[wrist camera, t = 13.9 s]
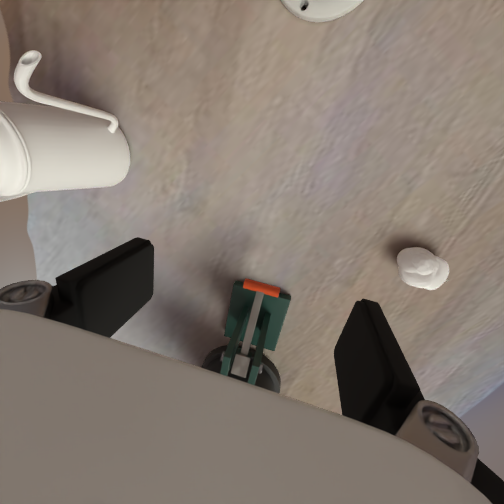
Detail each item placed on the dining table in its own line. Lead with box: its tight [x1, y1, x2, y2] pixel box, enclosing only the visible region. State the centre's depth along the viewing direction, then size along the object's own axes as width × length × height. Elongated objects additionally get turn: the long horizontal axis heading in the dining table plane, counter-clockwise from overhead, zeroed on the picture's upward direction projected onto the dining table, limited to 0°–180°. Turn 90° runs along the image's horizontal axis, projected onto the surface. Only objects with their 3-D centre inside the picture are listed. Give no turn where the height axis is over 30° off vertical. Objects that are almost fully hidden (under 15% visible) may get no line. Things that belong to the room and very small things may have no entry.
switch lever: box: [231, 278, 280, 378], centre depth 34 cm, size 13×5×2 cm, turn 168°
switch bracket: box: [220, 281, 291, 385], centre depth 38 cm, size 12×10×13 cm
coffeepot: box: [0, 50, 130, 202], centre depth 29 cm, size 11×25×19 cm, turn 121°
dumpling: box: [397, 247, 449, 290], centre depth 32 cm, size 7×5×4 cm
